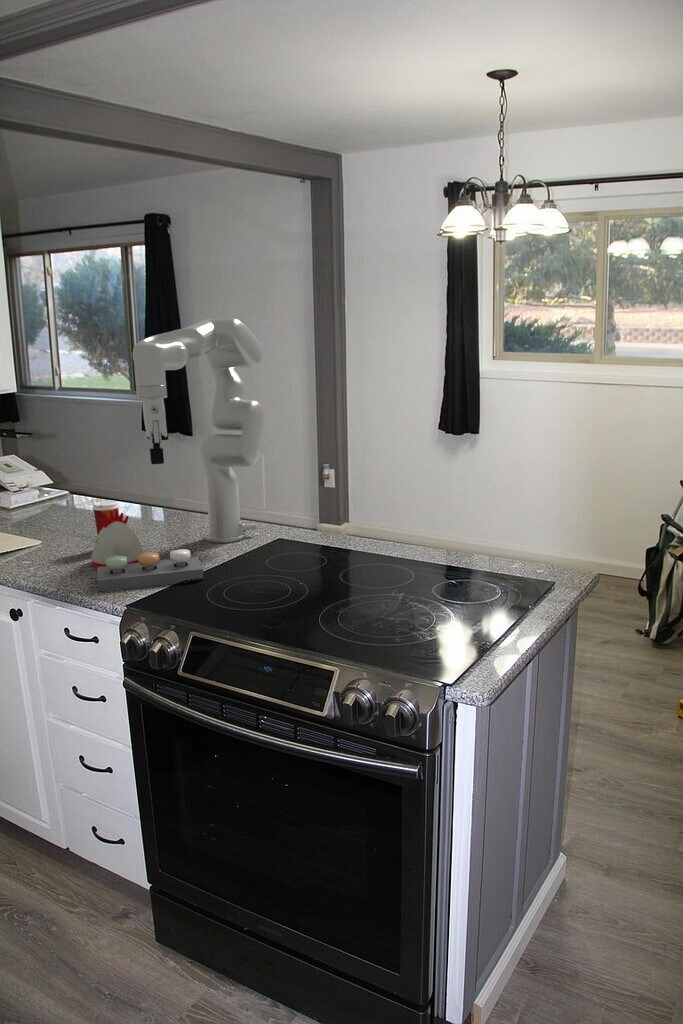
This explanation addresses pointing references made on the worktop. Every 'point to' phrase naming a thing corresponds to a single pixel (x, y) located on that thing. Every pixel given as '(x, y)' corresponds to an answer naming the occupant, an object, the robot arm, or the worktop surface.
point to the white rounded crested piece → (115, 541)
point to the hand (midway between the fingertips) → (157, 463)
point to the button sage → (116, 563)
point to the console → (148, 575)
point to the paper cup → (104, 507)
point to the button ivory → (180, 557)
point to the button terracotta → (148, 560)
